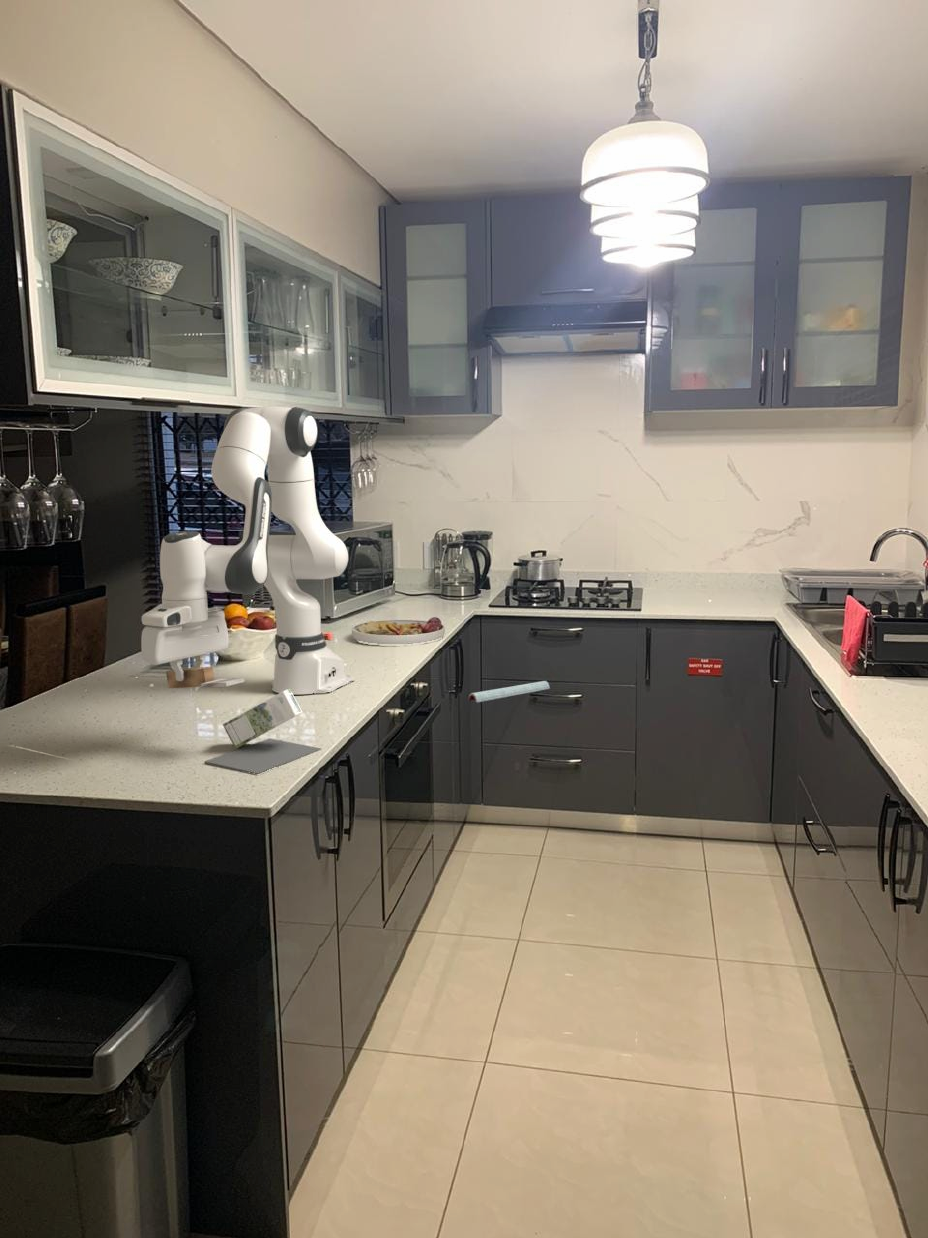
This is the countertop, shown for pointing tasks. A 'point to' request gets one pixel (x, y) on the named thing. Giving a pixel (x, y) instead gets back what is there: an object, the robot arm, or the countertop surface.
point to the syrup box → (262, 718)
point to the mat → (262, 756)
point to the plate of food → (399, 631)
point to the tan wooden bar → (199, 679)
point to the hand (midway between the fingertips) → (188, 678)
